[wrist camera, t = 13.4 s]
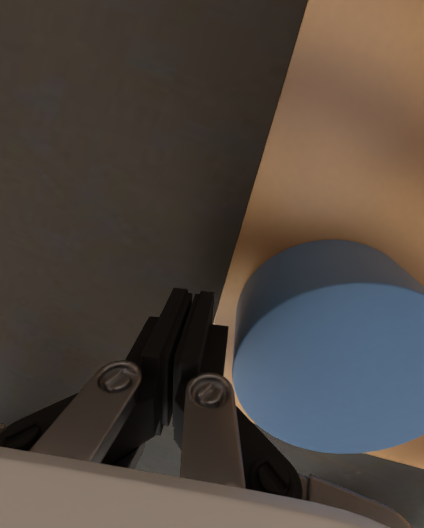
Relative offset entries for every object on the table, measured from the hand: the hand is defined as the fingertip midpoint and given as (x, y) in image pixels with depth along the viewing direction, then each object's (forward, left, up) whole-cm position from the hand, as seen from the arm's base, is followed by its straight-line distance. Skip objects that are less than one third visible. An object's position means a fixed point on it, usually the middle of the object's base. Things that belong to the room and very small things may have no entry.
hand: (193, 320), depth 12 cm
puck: (0, +6, -2) cm, 6 cm away
